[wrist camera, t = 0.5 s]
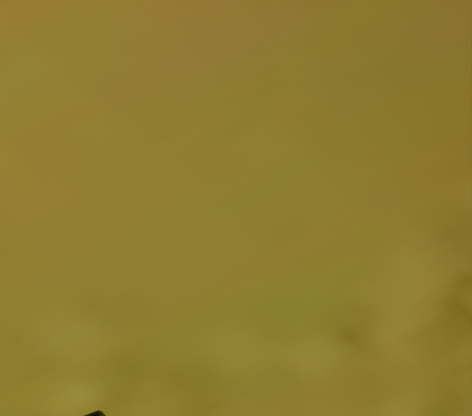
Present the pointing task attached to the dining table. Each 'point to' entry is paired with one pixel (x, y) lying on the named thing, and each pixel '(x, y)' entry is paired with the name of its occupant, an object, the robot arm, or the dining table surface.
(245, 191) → the dining table surface
